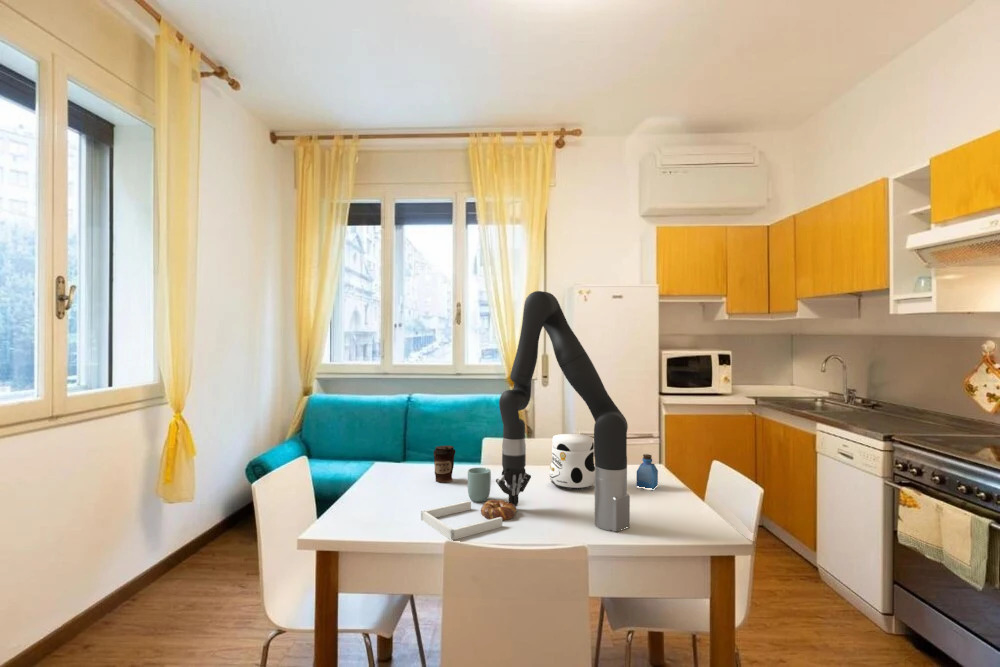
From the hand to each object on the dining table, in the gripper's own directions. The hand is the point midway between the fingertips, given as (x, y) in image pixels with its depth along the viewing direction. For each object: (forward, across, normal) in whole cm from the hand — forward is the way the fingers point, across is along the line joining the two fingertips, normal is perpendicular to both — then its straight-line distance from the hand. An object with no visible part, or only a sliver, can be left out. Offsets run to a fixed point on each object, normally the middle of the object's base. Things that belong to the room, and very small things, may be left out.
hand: (513, 506), depth 150 cm
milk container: (+1, +34, +8) cm, 35 cm away
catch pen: (+1, -19, -1) cm, 19 cm away
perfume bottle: (+2, +56, -8) cm, 57 cm away
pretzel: (+2, -6, 0) cm, 7 cm away
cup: (+1, -4, +14) cm, 14 cm away
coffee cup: (+1, -4, +40) cm, 40 cm away
